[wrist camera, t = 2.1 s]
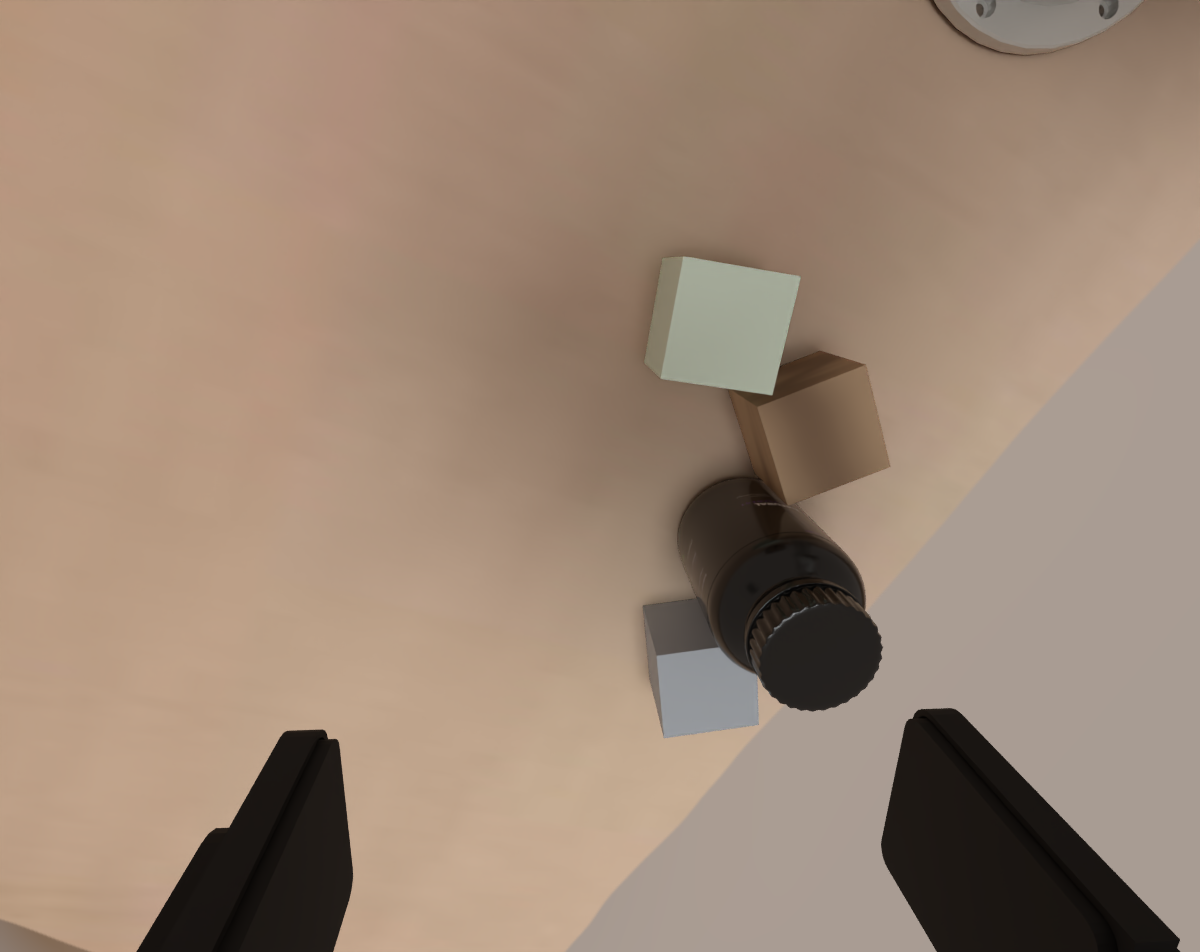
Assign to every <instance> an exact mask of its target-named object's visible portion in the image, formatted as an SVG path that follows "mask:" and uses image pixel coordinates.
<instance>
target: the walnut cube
mask: <svg viewBox="0 0 1200 952" xmlns="http://www.w3.org/2000/svg"><path fill="white" fill-rule="evenodd" d="M728 391H729V394H730V397H731V400H732V403H733V407H734V410H735V413H736V416H737V419H738V422H739V425H740V429H741V432H742V435H743V438H744V441H745V444H746V447H747V451H748V454H749V457H750V460H751V463H752V466H753V469H754V473H755V474H756V475H757V476H758V477H759V478H760V479H761V480H762V481H763V482H764V483H765V484H766V485H767V486H768V487H769V488H770V489H771V490H772V491H773V492H774V493H775V494H776V495H777V496H778V497H779V498H780V499H781V500H782V501H783V502H784V503H785V504H786V505H787V506H789V505H791V504H794V503H797V502H799V501H802V500H805V499H807V498H810V497H812V496H815V495H818V494H820V493H823V492H825V491H828V490H831V489H833V488H836V487H839V486H841V485H844V484H846V483H849V482H852V481H854V480H857V479H859V478H862V477H865V476H867V475H870V474H872V473H875V472H878V471H880V470H883V469H886V468H888V467H890V463H889V459H888V454H887V450H886V446H885V442H884V438H883V434H882V430H881V425H880V421H879V417H878V413H877V409H876V405H875V400H874V396H873V392H872V388H871V384H870V380H869V376H868V371H867V367H866V365H865V364H862V363H858V362H855V361H852V360H849V359H845V358H842V357H839V356H835V355H832V354H829V353H825V352H822V351H818V352H816V353H813V354H811V355H808V356H806V357H803V358H800V359H798V360H795V361H793V362H790V363H788V364H785V365H783V366H780V367H779V370H778V374H777V378H776V382H775V386H774V391H773V395H767V394H760V393H753V392H746V391H740V390H733V389H728Z"/></svg>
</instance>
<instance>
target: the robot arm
mask: <svg viewBox="0 0 1200 952" xmlns="http://www.w3.org/2000/svg"><path fill="white" fill-rule="evenodd" d="M1143 1H1144V0H934V2H935V3H936V5H937V7H938V8H939V10H940V11H941V12H942V13H943V14H944V15H945V16H946V17H947V18H948V20H949V21H950V22H951V23H952V24H953V25H954V26H955V27H956V28H957V29H958V30H959V31H961V32H962V33H964V34H965V35H967V36H968V37H970V38H971V39H972V40H974V41H975V42H977V43H979V44H981V45H984V46H987V47H989V48H992V49H994V50H997V51H1000V52H1005V53H1013V54H1021V55H1031V54H1040V53H1049V52H1054V51H1057V50H1060V49H1063V48H1066V47H1069V46H1072V45H1075V44H1078V43H1080V42H1082V41H1084V40H1086V39H1089V38H1091V37H1093V36H1095V35H1097V34H1099V33H1102V32H1104V31H1106V30H1107V29H1109V28H1110V27H1112V26H1113V25H1115V24H1116V23H1118V22H1119V21H1120V20H1122V19H1123V18H1125V17H1126V16H1128V15H1129V14H1131V13H1132V12H1133V11H1134V10H1135V9H1136V8H1137V7H1138V6H1139V5H1140V4H1141V3H1142V2H1143ZM976 10H977V12H976ZM881 848H882V854H883V858H884V861H885V864H886V866H887V868H888V870H889V871H890V873H891V875H892V876H893V878H894V880H895V881H896V883H897V885H898V886H899V888H900V890H901V892H902V893H903V895H904V897H905V898H906V900H907V902H908V904H909V905H910V907H911V909H912V910H913V912H914V914H915V915H916V917H917V919H918V921H919V922H920V924H921V925H922V927H923V929H924V931H925V932H926V934H927V936H928V937H929V939H930V941H931V942H932V944H933V946H934V948H935V949H936V951H937V952H1180V951H1179V950H1178V949H1177V946H1178V944H1179V941H1180V939H1179V938H1178V937H1177V936H1176V935H1175V934H1174V933H1173V932H1172V931H1171V930H1170V929H1169V928H1168V927H1167V926H1166V925H1165V924H1164V923H1163V921H1161V919H1159V917H1158V916H1157V915H1156V914H1155V913H1154V912H1153V911H1152V910H1151V909H1150V908H1149V907H1148V906H1147V905H1146V904H1145V903H1144V902H1143V901H1142V900H1141V899H1140V898H1139V897H1138V896H1137V895H1136V894H1135V893H1134V892H1133V891H1132V889H1131V888H1130V887H1129V886H1128V885H1127V884H1126V883H1125V882H1124V881H1123V880H1122V879H1121V878H1120V877H1119V876H1118V875H1117V874H1116V873H1115V872H1114V871H1113V870H1112V869H1111V868H1110V867H1109V866H1108V865H1107V864H1106V863H1105V862H1104V861H1103V860H1102V859H1101V858H1100V856H1099V855H1098V854H1097V853H1096V852H1095V851H1094V850H1093V849H1092V848H1091V847H1090V846H1089V845H1088V844H1087V843H1086V842H1085V841H1084V840H1083V839H1082V838H1081V837H1080V836H1079V835H1078V834H1077V833H1076V832H1075V831H1074V830H1073V829H1072V828H1071V827H1070V826H1069V825H1068V823H1067V822H1066V821H1065V820H1064V819H1063V818H1062V817H1061V816H1060V815H1059V814H1058V813H1057V812H1056V811H1055V810H1054V809H1053V808H1052V807H1051V806H1050V805H1049V804H1048V803H1047V802H1046V801H1045V800H1044V799H1043V798H1042V797H1041V796H1040V795H1039V793H1037V791H1036V790H1034V788H1033V787H1032V786H1031V785H1030V784H1029V783H1028V782H1027V781H1026V780H1025V779H1024V778H1023V777H1022V776H1021V775H1020V774H1019V773H1018V772H1017V771H1016V770H1015V769H1014V768H1013V767H1012V766H1011V765H1010V764H1009V763H1008V761H1006V759H1005V758H1004V757H1003V756H1001V754H1000V753H999V752H998V751H997V750H996V749H995V748H994V747H993V746H992V745H991V744H990V743H989V742H988V741H987V740H986V739H985V738H984V737H983V736H982V735H981V734H980V733H979V732H978V731H977V730H976V728H974V726H973V725H972V724H971V723H970V722H969V721H968V720H967V719H966V718H965V717H964V716H963V715H962V714H961V713H960V712H958V711H957V710H955V709H952V708H944V709H921V710H918V711H917V712H916V713H915V714H914V717H913V719H909V720H908V721H907V722H906V725H905V728H904V733H903V738H902V743H901V748H900V753H899V758H898V762H897V767H896V772H895V777H894V782H893V787H892V792H891V797H890V802H889V806H888V811H887V816H886V821H885V826H884V831H883V836H882V841H881ZM352 881H353V867H352V858H351V848H350V839H349V830H348V821H347V811H346V802H345V793H344V784H343V774H342V765H341V756H340V747H339V742H338V740H337V739H328V737H327V733H326V732H325V730H297V731H286V732H284V733H283V734H282V736H281V737H280V739H279V740H278V742H277V744H276V746H275V748H274V749H273V751H272V753H271V755H270V756H269V758H268V760H267V762H266V763H265V765H264V767H263V769H262V771H261V772H260V774H259V776H258V778H257V779H256V781H255V783H254V785H253V786H252V788H251V790H250V792H249V794H248V795H247V797H246V799H245V801H244V802H243V804H242V806H241V808H240V809H239V811H238V813H237V815H236V816H235V818H234V820H233V822H232V824H231V825H230V827H229V828H216V829H214V830H213V831H212V832H210V833H209V834H208V835H207V837H206V838H205V839H204V841H203V842H202V843H201V845H200V847H199V848H198V850H197V852H196V853H195V855H194V857H193V858H192V860H191V862H190V863H189V865H188V867H187V868H186V870H185V872H184V873H183V875H182V877H181V878H180V880H179V882H178V883H177V885H176V887H175V888H174V890H173V892H172V893H171V895H170V897H169V898H168V900H167V902H166V903H165V905H164V907H163V908H162V910H161V912H160V913H159V915H158V917H157V918H156V920H155V922H154V923H153V925H152V927H151V928H150V930H149V932H148V933H147V935H146V937H145V939H144V940H143V942H142V944H141V945H140V947H139V949H138V950H137V952H333V951H334V947H335V944H336V941H337V938H338V934H339V931H340V928H341V925H342V921H343V918H344V915H345V911H346V908H347V905H348V902H349V898H350V894H351V889H352Z"/></svg>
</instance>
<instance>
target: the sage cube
mask: <svg viewBox="0 0 1200 952" xmlns="http://www.w3.org/2000/svg"><path fill="white" fill-rule="evenodd" d="M800 279H801V276H796V275H790V274H784V273H778V272H773V271H767V270H761V269H755V268H749V267H743V266H738V265H732V264H726V263H720V262H714V261H709V260H703V259H697V258H691V257H685V256H679V257H667V258H662V264H661V269H660V275H659V281H658V286H657V292H656V298H655V303H654V309H653V315H652V320H651V326H650V331H649V337H648V343H647V348H646V354H645V360H644V363H645V364H646V365H647V366H648V367H649V368H650V369H651V370H652V371H653V372H654V373H655V374H656V375H657V376H658V377H659V378H660V379H665V380H672V381H678V382H685V383H692V384H699V385H706V386H712V387H719V388H726V389H733V390H740V391H746V392H753V393H760V394H767V395H773V391H774V386H775V382H776V378H777V374H778V370H779V366H780V362H781V357H782V353H783V349H784V345H785V341H786V337H787V333H788V328H789V324H790V320H791V316H792V312H793V308H794V304H795V299H796V295H797V291H798V287H799V283H800Z"/></svg>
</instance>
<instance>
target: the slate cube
mask: <svg viewBox="0 0 1200 952" xmlns="http://www.w3.org/2000/svg"><path fill="white" fill-rule="evenodd" d="M643 613H644V624H645V634H646V645H647V655H648V666H649V677H650V683H651V687H652V691H653V695H654V699H655V703H656V707H657V711H658V716H659V720H660V724H661V728H662V732H663V736H664V738H669V737H676V736H683V735H690V734H697V733H704V732H711V731H719V730H726V729H733V728H740V727H747V726H754V725H759V716H758V684H757V675H755V674H752V673H750V672H748V671H746V670H744V669H742V668H740V667H739V666H737V665H736V664H734V663H733V662H732V661H731V660H730V659H728V658H727V656H726V655H725V654H724V653H723V652H722V651H721V649H720V648H719V646H718V645H717V643H716V641H715V639H714V637H713V635H712V633H711V631H710V628H709V626H708V624H707V621H706V619H705V616H704V614H703V612H702V609H701V607H700V605H699V602H698V600H697V599H689V600H682V601H674V602H667V603H659V604H652V605H644V606H643Z"/></svg>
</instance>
